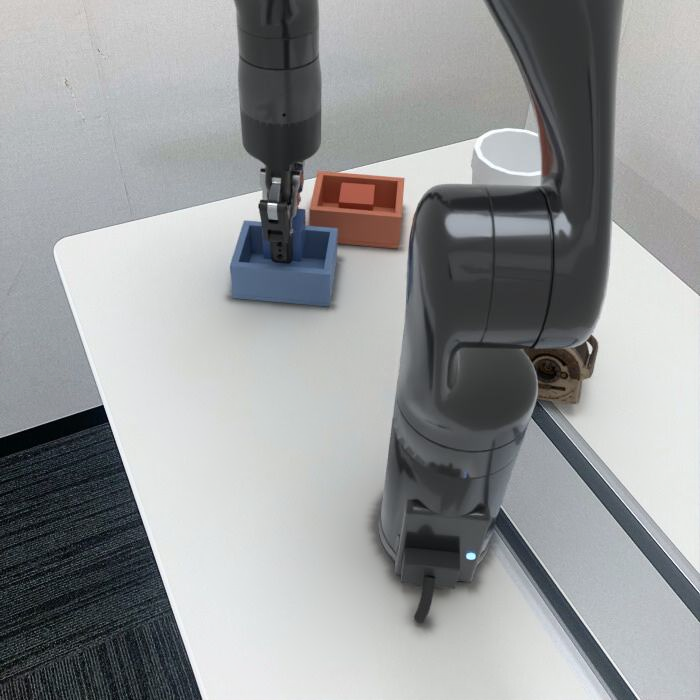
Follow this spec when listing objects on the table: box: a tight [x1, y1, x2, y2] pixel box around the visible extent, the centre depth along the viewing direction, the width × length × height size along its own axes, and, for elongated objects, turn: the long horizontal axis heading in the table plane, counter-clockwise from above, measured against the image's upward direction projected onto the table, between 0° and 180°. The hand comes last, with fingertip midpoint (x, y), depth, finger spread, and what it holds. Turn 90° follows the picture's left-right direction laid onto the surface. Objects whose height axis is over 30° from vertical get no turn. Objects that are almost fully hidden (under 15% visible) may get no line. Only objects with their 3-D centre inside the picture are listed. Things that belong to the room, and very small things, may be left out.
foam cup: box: [470, 127, 541, 186], centre depth 85 cm, size 10×9×13 cm
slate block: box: [262, 208, 307, 262], centre depth 80 cm, size 4×4×4 cm
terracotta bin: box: [308, 170, 405, 250], centre depth 90 cm, size 8×11×5 cm
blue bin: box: [229, 220, 338, 308], centre depth 83 cm, size 8×11×5 cm
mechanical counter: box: [522, 333, 599, 405], centre depth 74 cm, size 7×13×10 cm
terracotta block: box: [339, 183, 375, 211], centre depth 90 cm, size 4×4×4 cm
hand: (285, 246), depth 81 cm, fingers closed on slate block, 4 cm apart
